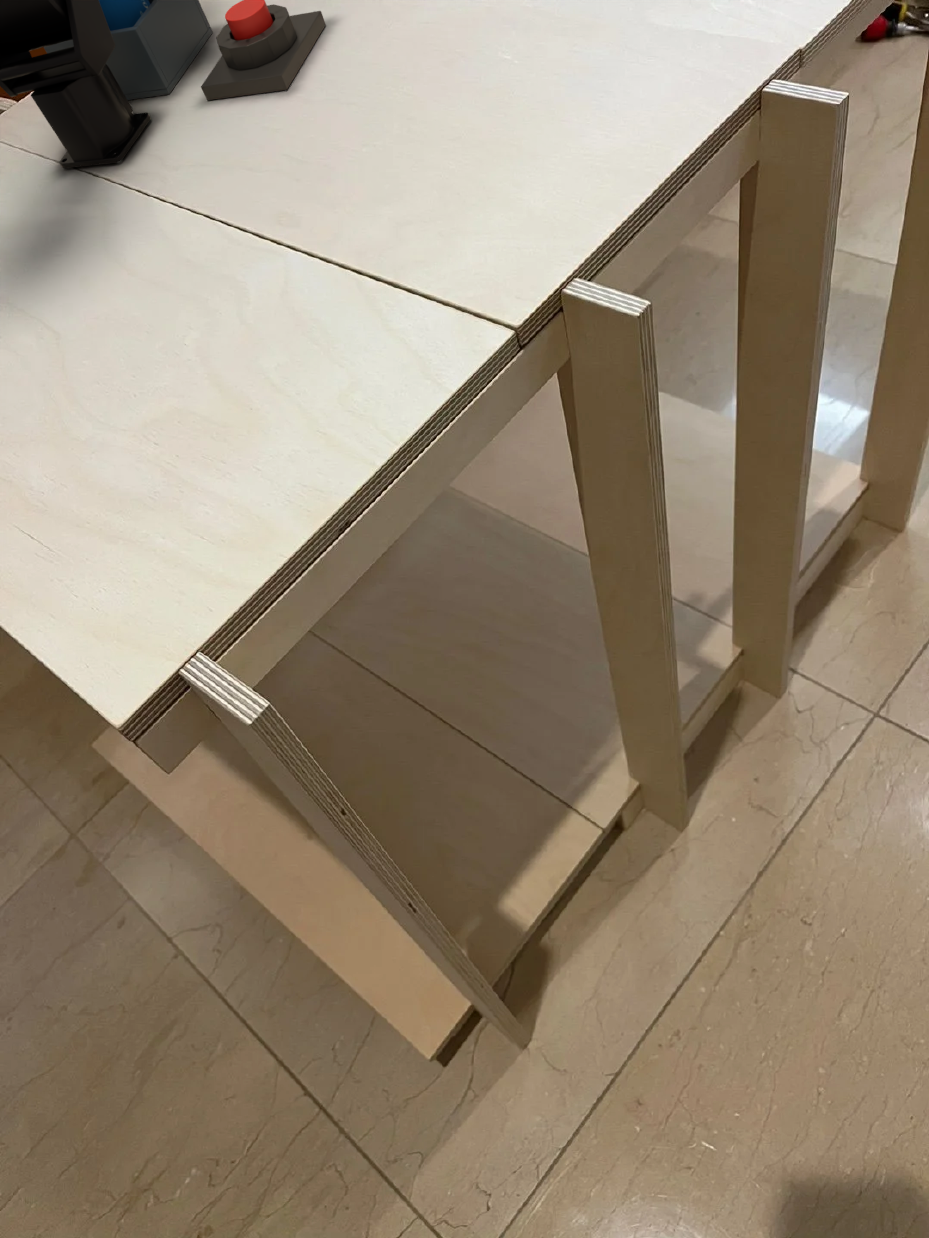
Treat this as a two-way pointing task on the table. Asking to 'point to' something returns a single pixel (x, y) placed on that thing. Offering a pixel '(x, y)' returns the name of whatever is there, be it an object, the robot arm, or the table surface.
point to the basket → (155, 47)
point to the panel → (263, 56)
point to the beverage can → (123, 12)
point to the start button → (248, 19)
